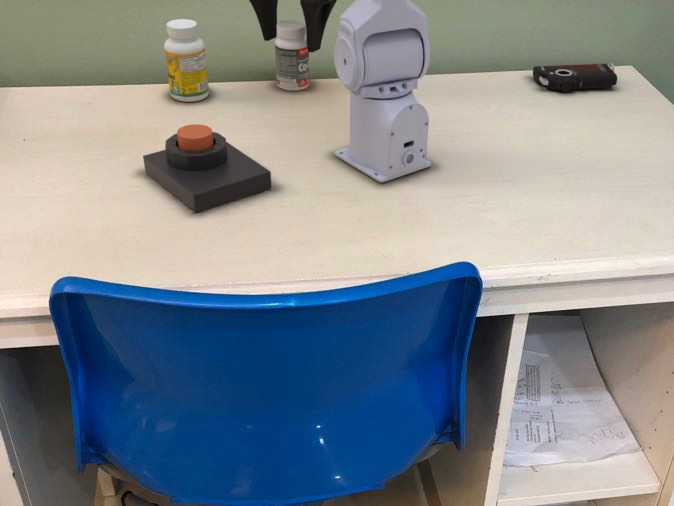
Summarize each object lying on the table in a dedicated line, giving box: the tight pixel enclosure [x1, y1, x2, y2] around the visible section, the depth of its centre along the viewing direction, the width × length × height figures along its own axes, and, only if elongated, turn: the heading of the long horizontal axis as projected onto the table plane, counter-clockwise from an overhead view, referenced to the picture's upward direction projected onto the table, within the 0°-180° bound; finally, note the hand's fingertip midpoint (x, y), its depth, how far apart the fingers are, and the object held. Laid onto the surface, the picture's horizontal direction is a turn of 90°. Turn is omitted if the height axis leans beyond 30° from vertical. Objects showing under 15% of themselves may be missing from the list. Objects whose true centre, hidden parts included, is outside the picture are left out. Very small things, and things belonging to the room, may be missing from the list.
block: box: [142, 131, 272, 214], centre depth 100 cm, size 12×10×4 cm
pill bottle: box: [274, 19, 311, 92], centre depth 122 cm, size 5×5×8 cm
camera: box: [532, 62, 618, 93], centre depth 126 cm, size 6×3×11 cm
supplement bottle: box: [163, 18, 210, 103], centre depth 118 cm, size 5×5×10 cm
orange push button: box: [176, 123, 214, 151], centre depth 100 cm, size 4×4×2 cm
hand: (291, 44), depth 121 cm, fingers open, 7 cm apart
